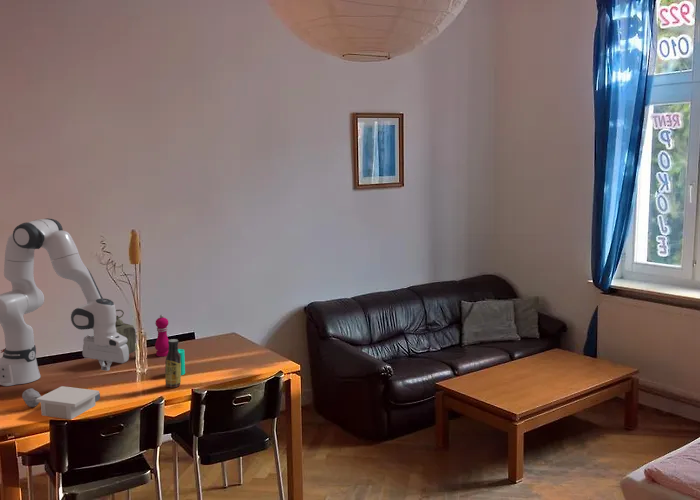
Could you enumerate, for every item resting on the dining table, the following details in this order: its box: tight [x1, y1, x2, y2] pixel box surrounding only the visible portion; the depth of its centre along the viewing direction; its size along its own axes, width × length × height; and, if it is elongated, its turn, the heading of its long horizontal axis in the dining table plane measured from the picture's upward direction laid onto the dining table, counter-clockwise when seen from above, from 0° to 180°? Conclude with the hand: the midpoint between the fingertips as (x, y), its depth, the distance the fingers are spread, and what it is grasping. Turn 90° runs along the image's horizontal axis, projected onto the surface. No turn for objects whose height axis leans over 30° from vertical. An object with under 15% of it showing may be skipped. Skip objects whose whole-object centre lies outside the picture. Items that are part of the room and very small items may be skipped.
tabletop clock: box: [104, 309, 137, 365], centre depth 307 cm, size 14×9×25 cm, turn 145°
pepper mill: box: [154, 314, 170, 357], centre depth 320 cm, size 7×7×20 cm
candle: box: [178, 348, 186, 376], centre depth 294 cm, size 6×6×12 cm
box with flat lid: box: [36, 385, 100, 420], centre depth 252 cm, size 17×14×6 cm
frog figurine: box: [21, 388, 42, 408], centre depth 256 cm, size 6×7×7 cm
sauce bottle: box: [164, 338, 182, 389], centre depth 278 cm, size 7×6×20 cm
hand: (105, 370), depth 277 cm, fingers closed
